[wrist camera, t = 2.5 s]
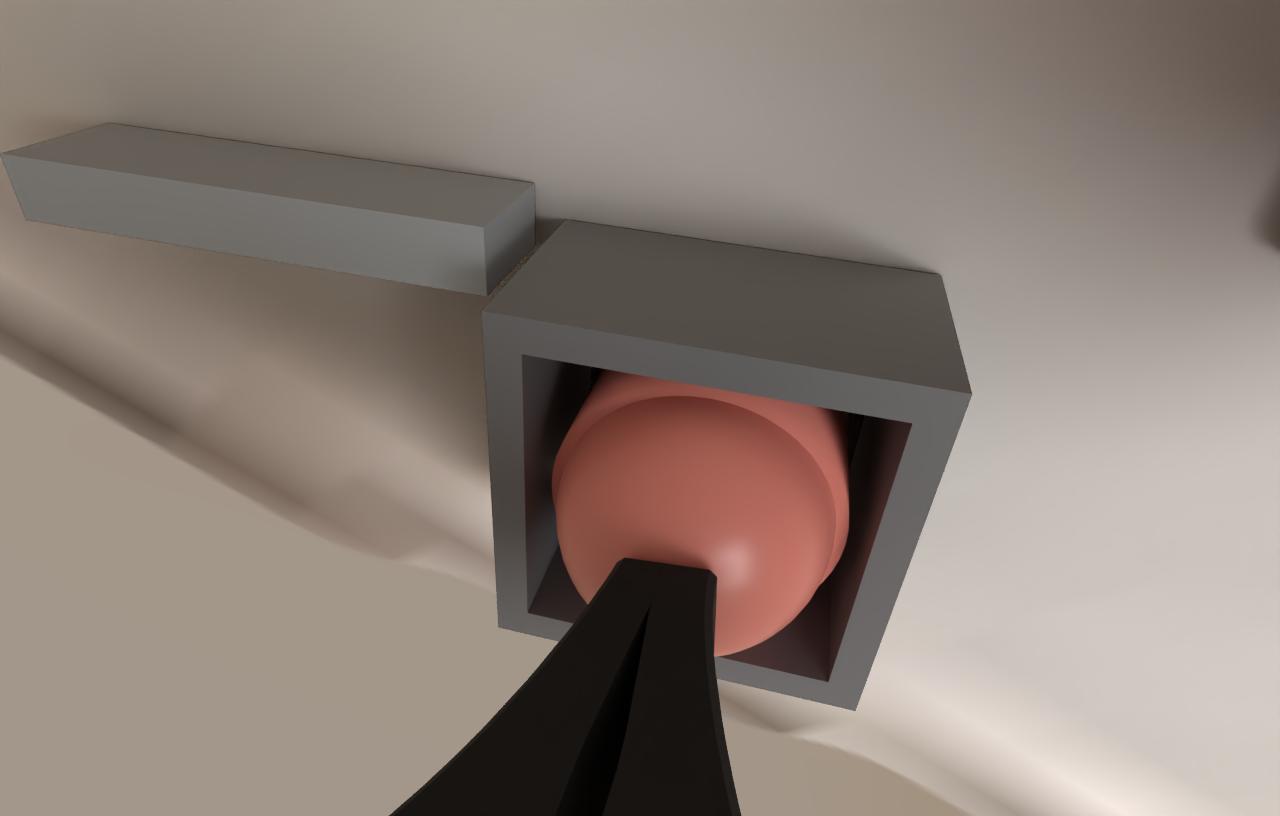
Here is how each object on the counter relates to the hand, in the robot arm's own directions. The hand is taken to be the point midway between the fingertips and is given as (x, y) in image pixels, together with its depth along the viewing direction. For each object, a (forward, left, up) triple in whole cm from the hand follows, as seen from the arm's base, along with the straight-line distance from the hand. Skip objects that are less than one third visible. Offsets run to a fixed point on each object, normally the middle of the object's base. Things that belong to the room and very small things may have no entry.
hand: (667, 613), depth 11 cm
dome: (0, 0, -5) cm, 5 cm away
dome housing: (0, 0, -6) cm, 6 cm away
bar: (+8, -3, -6) cm, 11 cm away
